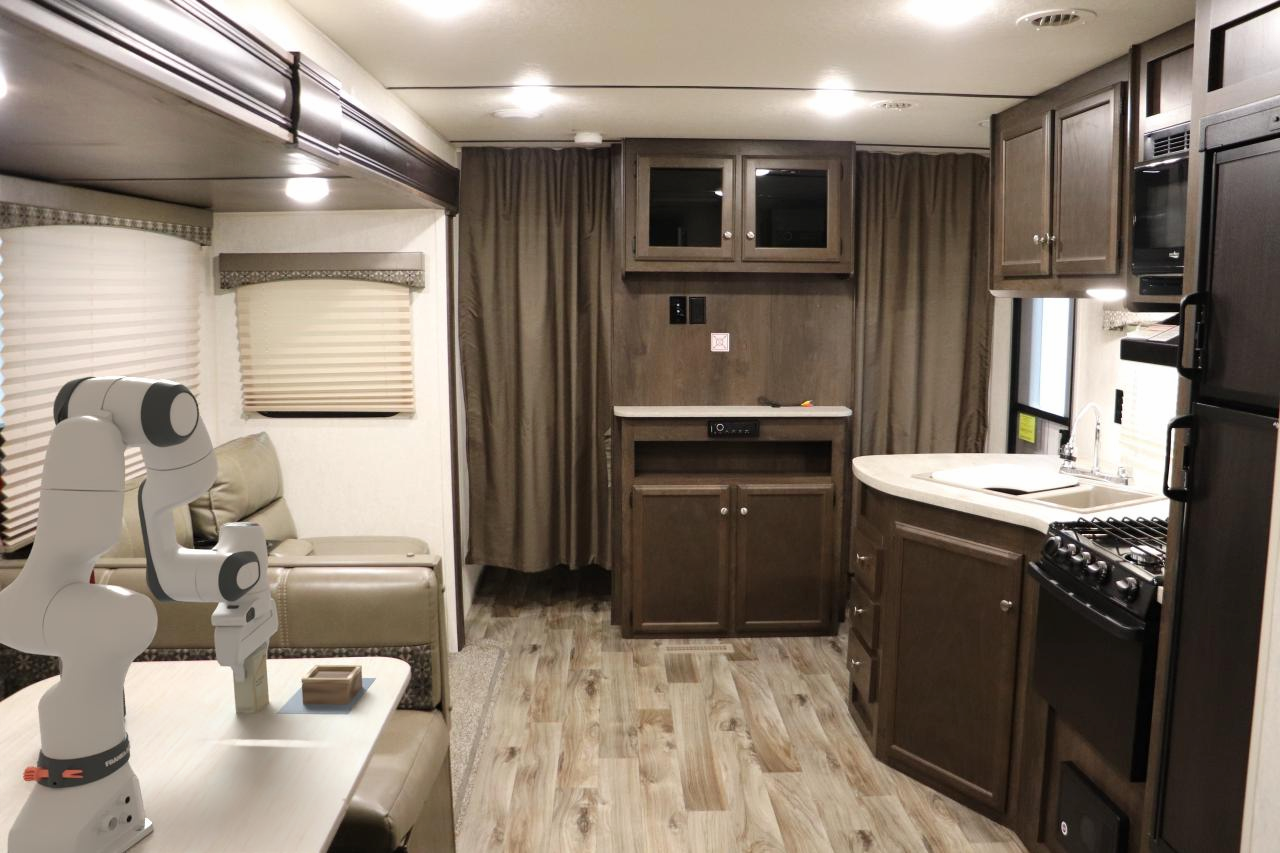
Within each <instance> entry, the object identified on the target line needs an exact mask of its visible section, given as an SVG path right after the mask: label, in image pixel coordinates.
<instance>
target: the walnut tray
mask: <svg viewBox="0 0 1280 853" xmlns="http://www.w3.org/2000/svg"><path fill="white" fill-rule="evenodd" d="M362 668H363V666H362V665H361V664H360V665H359V664H357V665H356V664H355V665H352V664H347V665H345V664H314V666H313V667H312V668H311V669H310V670H309V671H308V672H307V673H306V674H305V675H304V676H303V677H301V687H302V697H303V704H349V702H350V701H351V700H352V699H353V697H354V696H355V695H356V694H357V692H358V691H359V690H360V689H361V687H362V678H363V672H362V670H363V669H362Z"/></svg>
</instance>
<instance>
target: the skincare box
mask: <svg viewBox="0 0 1280 853" xmlns="http://www.w3.org/2000/svg"><path fill="white" fill-rule="evenodd" d="M243 667H244V670H247V678H246V679H245V680H244V681H243V682H236V681H235V675H234V672H233V671H232V678H233V691H234V705H235V714H258V713H259V712H260V711H261V710H262V709H263V708H264V707H265V706H266V705H267V704H268V702H270V700H269V699H270V696H269V694H270V693H269V683H268V682H269V680H268V670H267V669H268V668H267V660H266V651H265V647H258V648H257V649H256V650H255V651H254V652H252V653H251V654H250V655H249V656H248V657H247V658H246V659H245V660H244V664H243Z"/></svg>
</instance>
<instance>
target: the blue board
mask: <svg viewBox="0 0 1280 853" xmlns="http://www.w3.org/2000/svg"><path fill="white" fill-rule="evenodd" d="M376 679H377V677H362V687H361V689H360V690H359V691H358V692H357V694H356V695H355V696H354V697H353V699H352V700H351V701H350V702H349V704H303V697H302V686H301V687H300V688H299V689H298V690H296V692H295V693H294V694H293V695H292V696H291V697H290V698H289V699H288V700H287V701H286V702H285V703H284V704H283V705H282V707H281V708H280V709H279V710H277V712H276V714H288V715H289V714H293V715H297V714H298V715H300V714H301V715H306V714H307V715H349V714H350V713H351V711H352V710H353V708H354V707H355V706H356V705H357V703H358V702H359V701H360V700H361V698H362V697H363V696H364V694H365V693H366V692H367V691H368V689H369V688H370V687H371V686H372V684H373V683H374V682H375V680H376Z"/></svg>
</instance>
